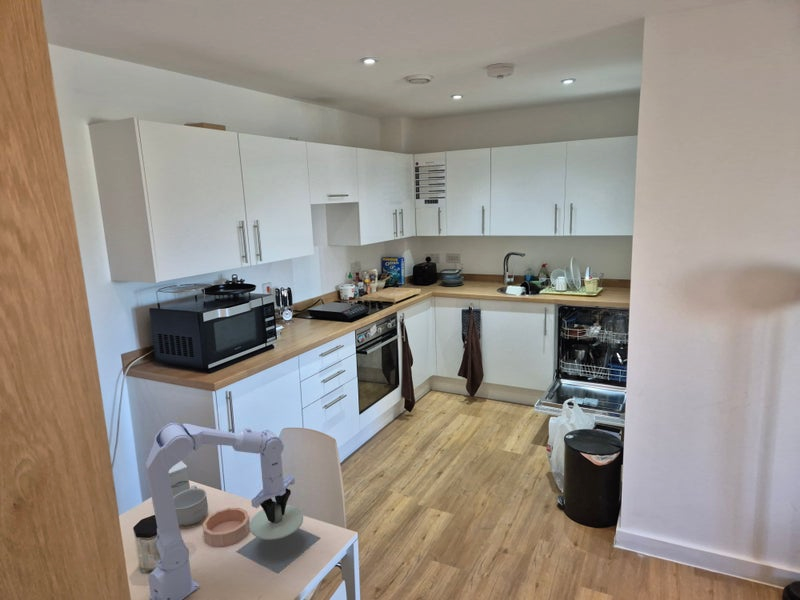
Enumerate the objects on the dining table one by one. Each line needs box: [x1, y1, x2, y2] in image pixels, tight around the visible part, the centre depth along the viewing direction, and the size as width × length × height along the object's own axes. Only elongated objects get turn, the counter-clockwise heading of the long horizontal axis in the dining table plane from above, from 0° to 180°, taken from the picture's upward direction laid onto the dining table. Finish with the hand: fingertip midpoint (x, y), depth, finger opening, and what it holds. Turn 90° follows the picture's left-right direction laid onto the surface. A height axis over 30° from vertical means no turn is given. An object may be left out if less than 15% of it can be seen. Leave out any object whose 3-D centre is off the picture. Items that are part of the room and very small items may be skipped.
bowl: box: [202, 507, 251, 548], centre depth 155 cm, size 13×13×4 cm
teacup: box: [173, 485, 209, 527], centre depth 164 cm, size 14×11×8 cm
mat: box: [235, 527, 321, 574], centre depth 149 cm, size 17×17×1 cm
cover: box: [249, 504, 304, 540], centre depth 147 cm, size 15×15×5 cm
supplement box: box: [169, 460, 191, 497], centre depth 173 cm, size 7×7×13 cm
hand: (276, 517), depth 147 cm, fingers closed on cover, 3 cm apart
